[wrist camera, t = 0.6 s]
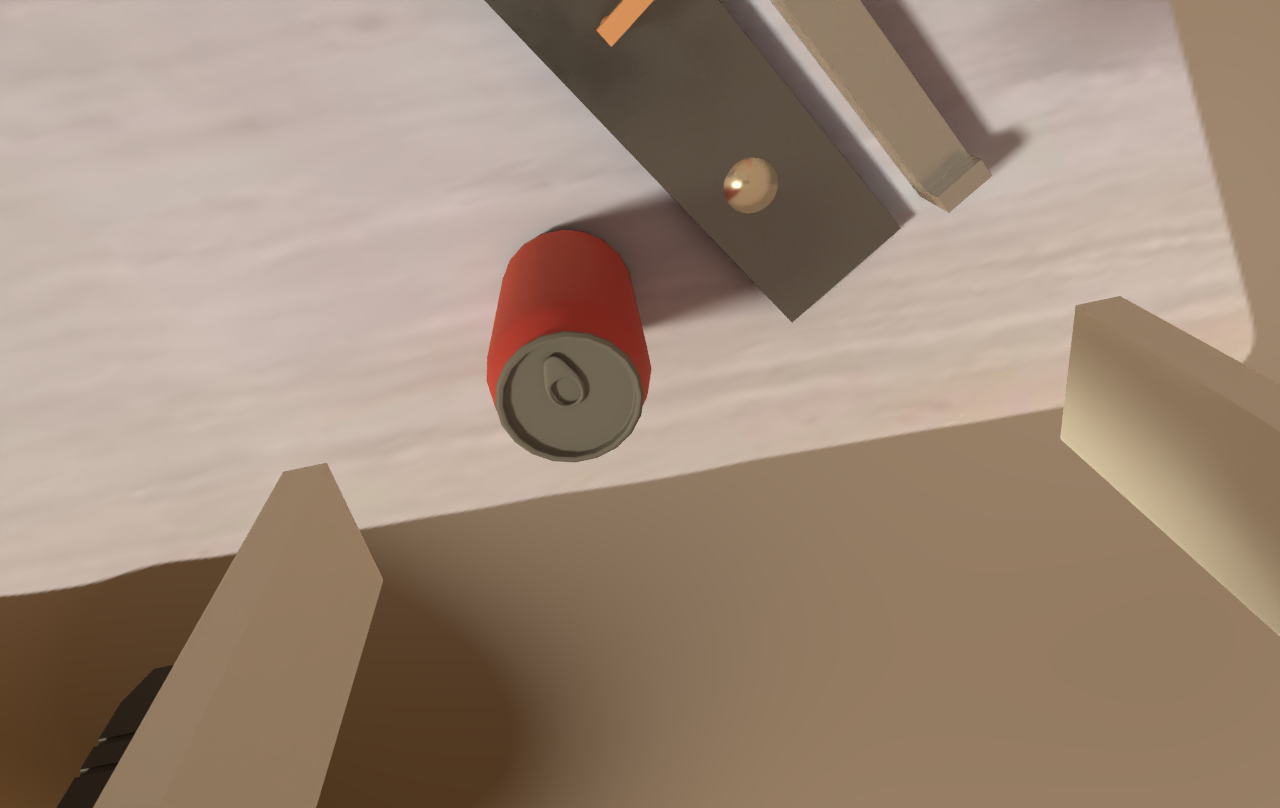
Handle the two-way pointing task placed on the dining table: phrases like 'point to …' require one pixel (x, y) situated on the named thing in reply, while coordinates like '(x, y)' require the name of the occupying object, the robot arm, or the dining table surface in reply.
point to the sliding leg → (621, 19)
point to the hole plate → (716, 137)
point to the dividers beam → (886, 97)
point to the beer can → (568, 349)
